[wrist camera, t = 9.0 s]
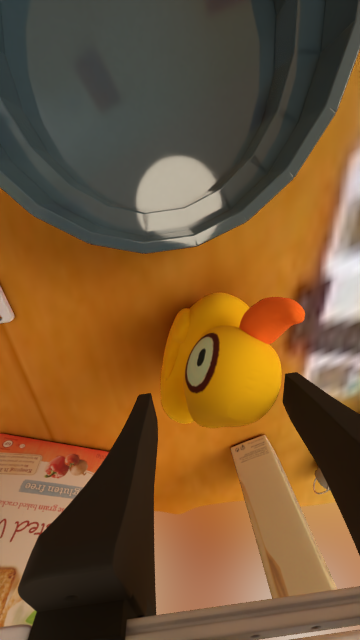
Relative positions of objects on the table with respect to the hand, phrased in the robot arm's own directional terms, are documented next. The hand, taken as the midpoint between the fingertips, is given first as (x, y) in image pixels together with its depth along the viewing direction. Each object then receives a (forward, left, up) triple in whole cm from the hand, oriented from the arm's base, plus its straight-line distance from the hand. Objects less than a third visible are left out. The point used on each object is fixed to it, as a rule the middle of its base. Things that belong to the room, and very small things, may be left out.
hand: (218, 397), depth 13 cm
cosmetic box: (+5, -18, -8) cm, 20 cm away
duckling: (0, 0, -8) cm, 8 cm away
